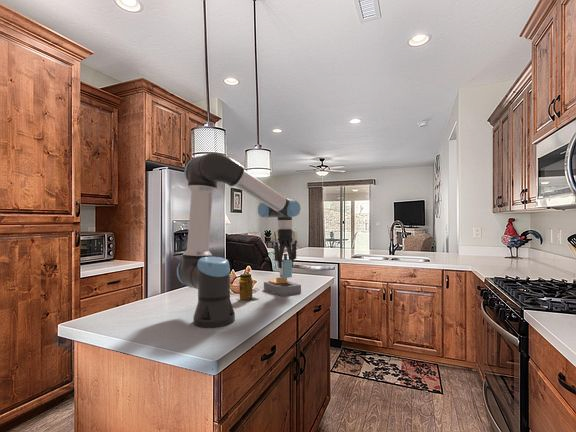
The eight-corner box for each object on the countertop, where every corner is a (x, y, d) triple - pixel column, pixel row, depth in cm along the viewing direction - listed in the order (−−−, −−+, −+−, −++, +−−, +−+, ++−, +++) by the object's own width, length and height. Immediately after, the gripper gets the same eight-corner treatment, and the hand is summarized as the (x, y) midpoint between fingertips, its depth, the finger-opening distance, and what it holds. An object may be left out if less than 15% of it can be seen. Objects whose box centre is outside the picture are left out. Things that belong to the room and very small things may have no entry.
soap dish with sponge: (301, 292, 160) (300, 284, 160) (281, 296, 154) (280, 288, 154) (282, 286, 175) (282, 279, 175) (263, 289, 169) (263, 282, 169)
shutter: (288, 282, 166) (288, 276, 166) (275, 284, 162) (275, 278, 162) (281, 280, 172) (281, 274, 173) (268, 281, 168) (268, 275, 168)
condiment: (236, 299, 149) (235, 274, 149) (251, 296, 154) (251, 272, 154) (243, 302, 143) (243, 276, 143) (259, 299, 148) (259, 274, 148)
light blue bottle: (287, 275, 164) (286, 253, 165) (291, 277, 161) (291, 253, 161) (279, 276, 162) (279, 253, 162) (284, 278, 158) (283, 254, 158)
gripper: (295, 228, 169) (295, 271, 169) (266, 229, 160) (267, 274, 160) (303, 228, 163) (303, 273, 163) (273, 229, 154) (274, 276, 153)
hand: (285, 273), depth 161 cm, fingers closed on light blue bottle, 4 cm apart
